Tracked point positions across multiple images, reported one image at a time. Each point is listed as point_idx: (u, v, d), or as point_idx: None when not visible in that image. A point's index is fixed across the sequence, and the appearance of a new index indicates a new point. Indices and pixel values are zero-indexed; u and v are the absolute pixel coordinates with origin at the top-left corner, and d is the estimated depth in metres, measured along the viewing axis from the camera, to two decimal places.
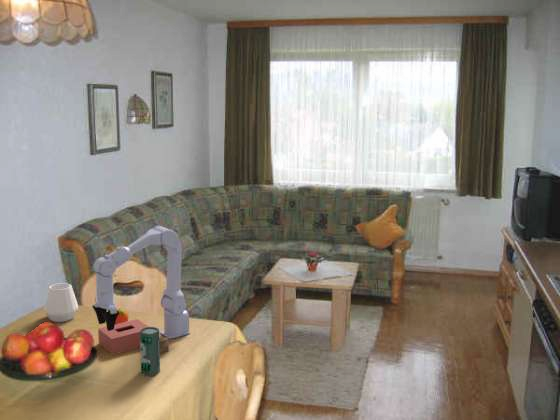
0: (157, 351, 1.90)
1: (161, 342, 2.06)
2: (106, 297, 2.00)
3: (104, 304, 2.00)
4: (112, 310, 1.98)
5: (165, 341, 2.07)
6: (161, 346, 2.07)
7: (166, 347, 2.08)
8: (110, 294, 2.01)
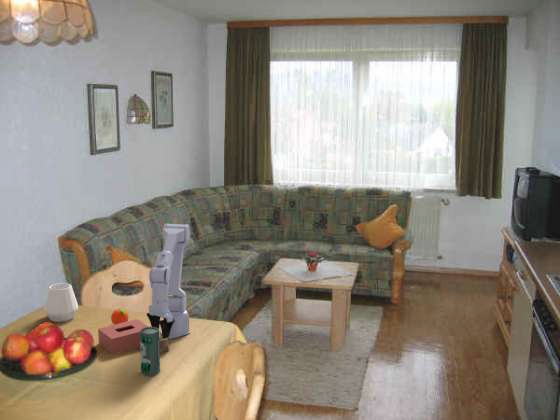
0: (157, 351, 1.90)
1: (161, 342, 2.06)
2: (162, 305, 2.02)
3: (160, 312, 2.02)
4: (168, 318, 1.99)
5: (165, 341, 2.07)
6: (161, 346, 2.07)
7: (166, 347, 2.08)
8: (166, 302, 2.03)
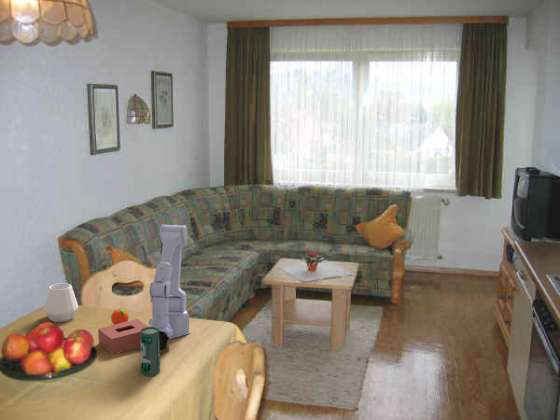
0: (157, 351, 1.90)
1: None
2: (162, 319, 2.03)
3: (160, 326, 2.03)
4: (169, 333, 2.00)
5: None
6: None
7: (166, 347, 2.08)
8: (166, 316, 2.04)
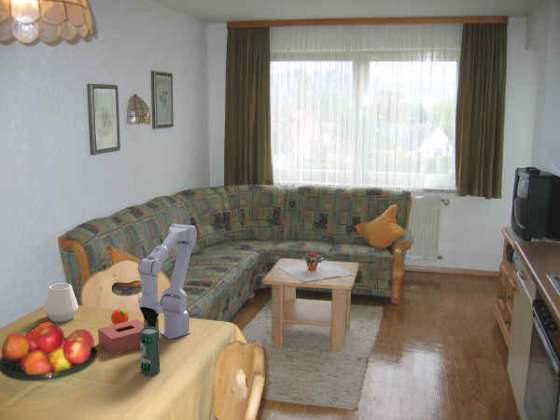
0: (157, 351, 1.90)
1: None
2: (151, 297, 2.03)
3: (149, 304, 2.04)
4: (158, 310, 2.01)
5: None
6: None
7: (156, 327, 2.09)
8: (155, 294, 2.04)
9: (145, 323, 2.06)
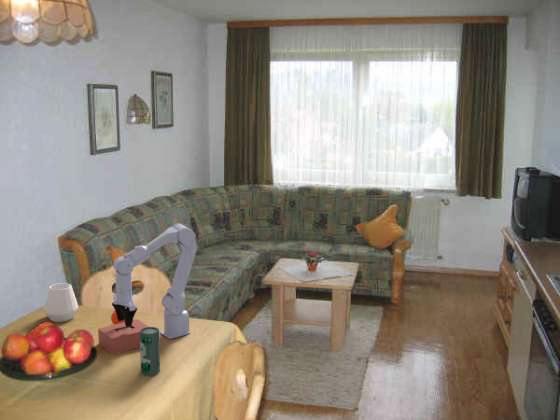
0: (157, 351, 1.90)
1: None
2: (125, 294, 2.08)
3: (123, 301, 2.09)
4: (131, 307, 2.06)
5: None
6: None
7: None
8: (129, 292, 2.09)
9: None
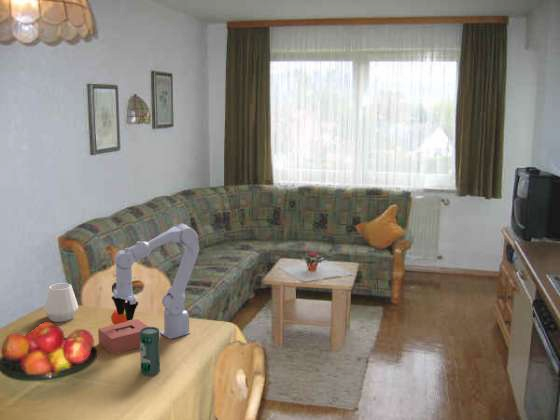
0: (157, 351, 1.90)
1: None
2: (125, 288, 2.09)
3: (123, 295, 2.09)
4: (132, 301, 2.06)
5: None
6: None
7: None
8: (129, 285, 2.10)
9: None
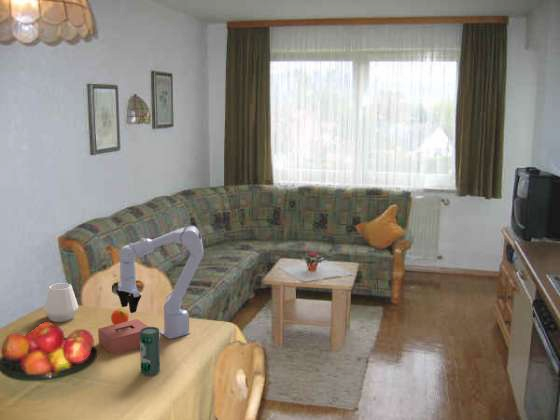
0: (157, 351, 1.90)
1: None
2: (129, 281, 2.16)
3: (127, 288, 2.17)
4: (135, 293, 2.14)
5: None
6: None
7: None
8: (133, 279, 2.17)
9: None
